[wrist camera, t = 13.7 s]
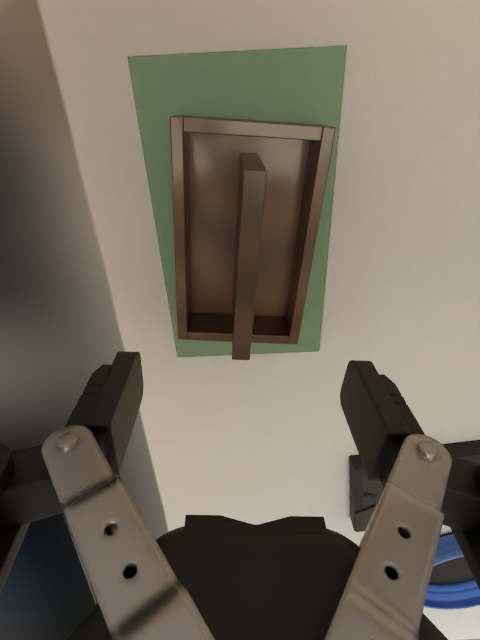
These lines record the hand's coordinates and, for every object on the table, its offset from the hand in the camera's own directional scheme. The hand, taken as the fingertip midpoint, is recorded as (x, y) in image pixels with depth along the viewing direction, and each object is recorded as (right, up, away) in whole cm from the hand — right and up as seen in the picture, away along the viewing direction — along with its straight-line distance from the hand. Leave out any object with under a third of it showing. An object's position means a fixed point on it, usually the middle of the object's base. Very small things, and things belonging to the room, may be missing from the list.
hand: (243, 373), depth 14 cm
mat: (0, +9, +15) cm, 18 cm away
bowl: (+34, -36, +43) cm, 66 cm away
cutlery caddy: (0, +9, +15) cm, 18 cm away
